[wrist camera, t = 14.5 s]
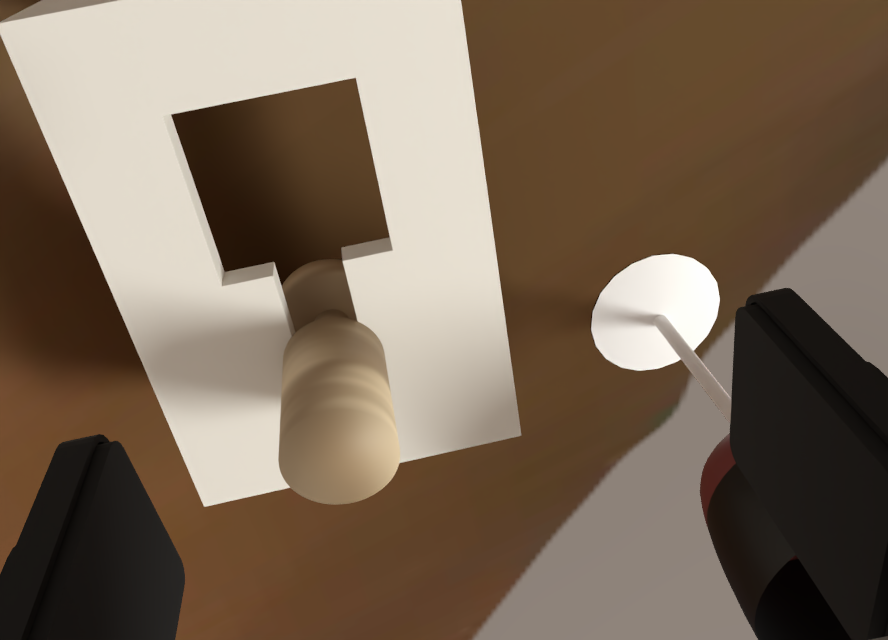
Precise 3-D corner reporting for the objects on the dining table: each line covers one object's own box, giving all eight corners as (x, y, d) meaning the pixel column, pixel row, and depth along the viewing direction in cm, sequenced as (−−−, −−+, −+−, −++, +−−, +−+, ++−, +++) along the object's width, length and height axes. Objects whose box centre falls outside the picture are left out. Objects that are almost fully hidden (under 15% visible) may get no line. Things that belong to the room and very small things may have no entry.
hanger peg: (373, 248, 34) (397, 385, 25) (394, 341, 36) (423, 495, 28) (262, 271, 34) (247, 417, 25) (292, 363, 36) (287, 526, 27)
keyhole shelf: (78, -19, 32) (-5, 23, 24) (414, -83, 33) (451, -64, 24) (224, 377, 43) (204, 506, 34) (478, 322, 43) (521, 435, 35)
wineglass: (705, 375, 47) (931, 664, 30) (567, 371, 46) (724, 674, 29) (747, 255, 44) (1032, 507, 27) (599, 245, 42) (801, 508, 25)
